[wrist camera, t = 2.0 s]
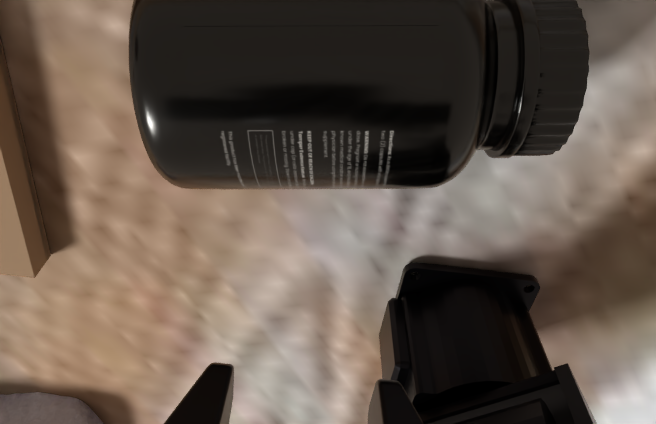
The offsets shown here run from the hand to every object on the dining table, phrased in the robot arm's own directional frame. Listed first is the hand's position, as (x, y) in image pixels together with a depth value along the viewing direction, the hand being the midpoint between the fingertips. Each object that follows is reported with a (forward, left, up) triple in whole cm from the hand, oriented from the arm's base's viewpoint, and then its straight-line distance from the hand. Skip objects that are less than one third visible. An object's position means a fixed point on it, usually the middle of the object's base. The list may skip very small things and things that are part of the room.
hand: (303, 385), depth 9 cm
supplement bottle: (+5, -1, -10) cm, 11 cm away
